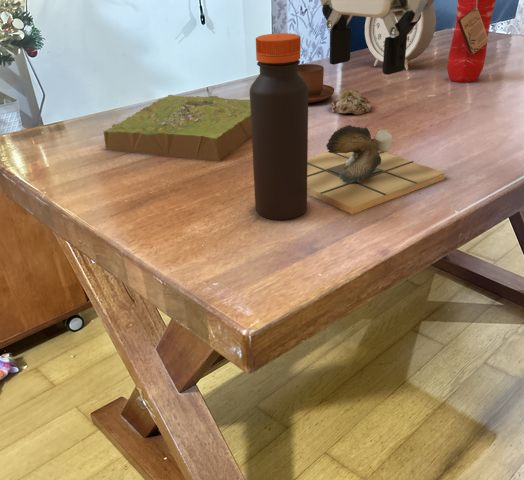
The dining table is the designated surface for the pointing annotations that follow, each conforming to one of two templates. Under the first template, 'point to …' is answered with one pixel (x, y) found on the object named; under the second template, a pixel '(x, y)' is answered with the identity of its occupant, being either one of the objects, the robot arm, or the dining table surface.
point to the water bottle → (469, 39)
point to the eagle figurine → (359, 150)
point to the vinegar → (279, 128)
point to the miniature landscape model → (184, 128)
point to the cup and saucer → (315, 82)
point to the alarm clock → (415, 40)
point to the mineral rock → (351, 103)
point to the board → (369, 190)
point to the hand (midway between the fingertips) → (365, 67)
